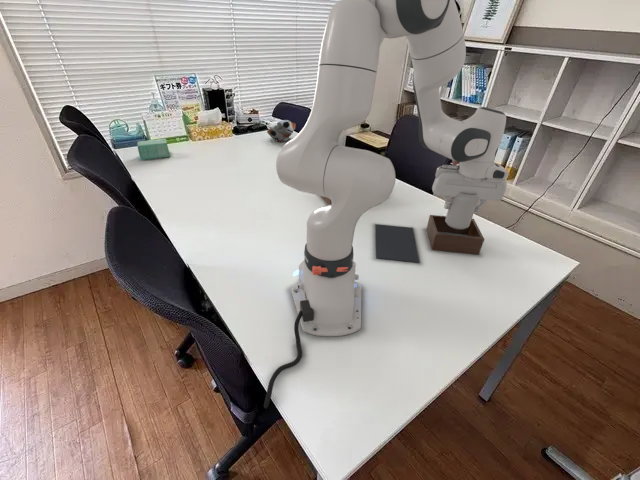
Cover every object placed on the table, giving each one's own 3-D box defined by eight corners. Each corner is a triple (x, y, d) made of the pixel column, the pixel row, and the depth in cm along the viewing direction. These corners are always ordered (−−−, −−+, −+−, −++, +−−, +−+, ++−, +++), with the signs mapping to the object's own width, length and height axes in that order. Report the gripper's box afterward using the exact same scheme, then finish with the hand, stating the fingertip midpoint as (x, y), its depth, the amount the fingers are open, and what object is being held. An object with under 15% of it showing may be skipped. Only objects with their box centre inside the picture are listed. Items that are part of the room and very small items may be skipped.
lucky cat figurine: (281, 134, 204) (291, 114, 196) (291, 146, 200) (302, 126, 192) (262, 131, 193) (273, 110, 185) (273, 144, 188) (284, 123, 181)
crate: (478, 254, 104) (484, 239, 100) (431, 250, 105) (435, 234, 102) (468, 233, 114) (473, 218, 111) (426, 229, 115) (429, 214, 112)
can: (444, 228, 103) (454, 193, 96) (444, 217, 109) (453, 183, 102) (469, 232, 101) (481, 197, 95) (468, 221, 107) (479, 187, 101)
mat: (419, 263, 99) (419, 262, 99) (376, 258, 100) (376, 257, 100) (412, 228, 116) (412, 227, 115) (375, 225, 117) (375, 224, 116)
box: (140, 155, 165) (136, 140, 161) (169, 152, 171) (166, 138, 166) (140, 160, 160) (136, 145, 156) (170, 157, 165) (167, 142, 161)
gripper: (439, 167, 93) (428, 211, 101) (514, 174, 91) (497, 217, 99) (436, 160, 98) (426, 201, 106) (507, 166, 96) (491, 208, 104)
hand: (461, 209), depth 102 cm, fingers closed on can, 7 cm apart
